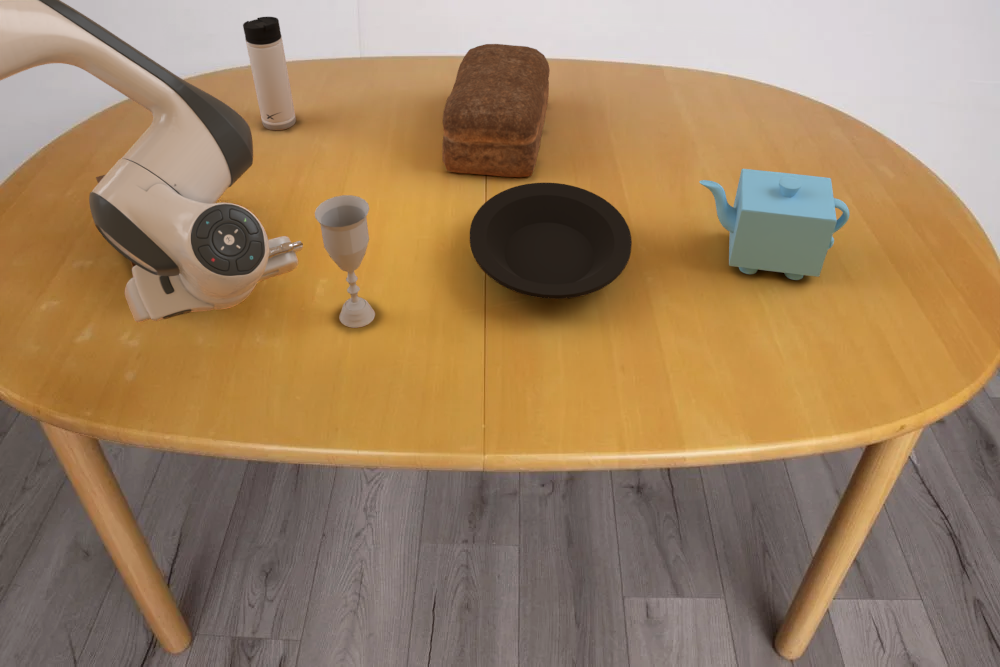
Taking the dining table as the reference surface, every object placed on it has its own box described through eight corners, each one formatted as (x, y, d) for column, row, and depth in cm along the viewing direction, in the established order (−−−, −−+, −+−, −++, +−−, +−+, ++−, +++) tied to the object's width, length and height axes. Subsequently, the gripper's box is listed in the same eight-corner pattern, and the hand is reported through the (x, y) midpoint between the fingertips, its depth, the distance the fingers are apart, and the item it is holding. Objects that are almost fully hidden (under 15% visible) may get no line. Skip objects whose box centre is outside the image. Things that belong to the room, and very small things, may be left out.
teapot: (830, 244, 137) (854, 168, 128) (835, 288, 129) (861, 211, 120) (688, 227, 141) (702, 152, 131) (685, 269, 132) (699, 192, 123)
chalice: (361, 338, 121) (346, 233, 109) (322, 322, 123) (303, 217, 111) (391, 308, 126) (380, 204, 113) (352, 293, 128) (337, 189, 116)
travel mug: (275, 135, 162) (254, 30, 148) (256, 122, 165) (234, 18, 152) (303, 123, 165) (286, 20, 151) (284, 111, 168) (266, 8, 155)
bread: (551, 99, 172) (554, 34, 163) (535, 184, 150) (537, 114, 141) (465, 93, 174) (464, 29, 165) (437, 176, 151) (433, 107, 142)
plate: (642, 322, 124) (646, 292, 120) (473, 328, 123) (472, 297, 119) (612, 209, 144) (615, 180, 140) (467, 213, 143) (467, 184, 139)
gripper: (295, 215, 102) (280, 240, 115) (116, 271, 95) (121, 291, 107) (315, 265, 102) (297, 284, 115) (138, 325, 95) (140, 338, 108)
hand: (211, 288), depth 111 cm, fingers closed
